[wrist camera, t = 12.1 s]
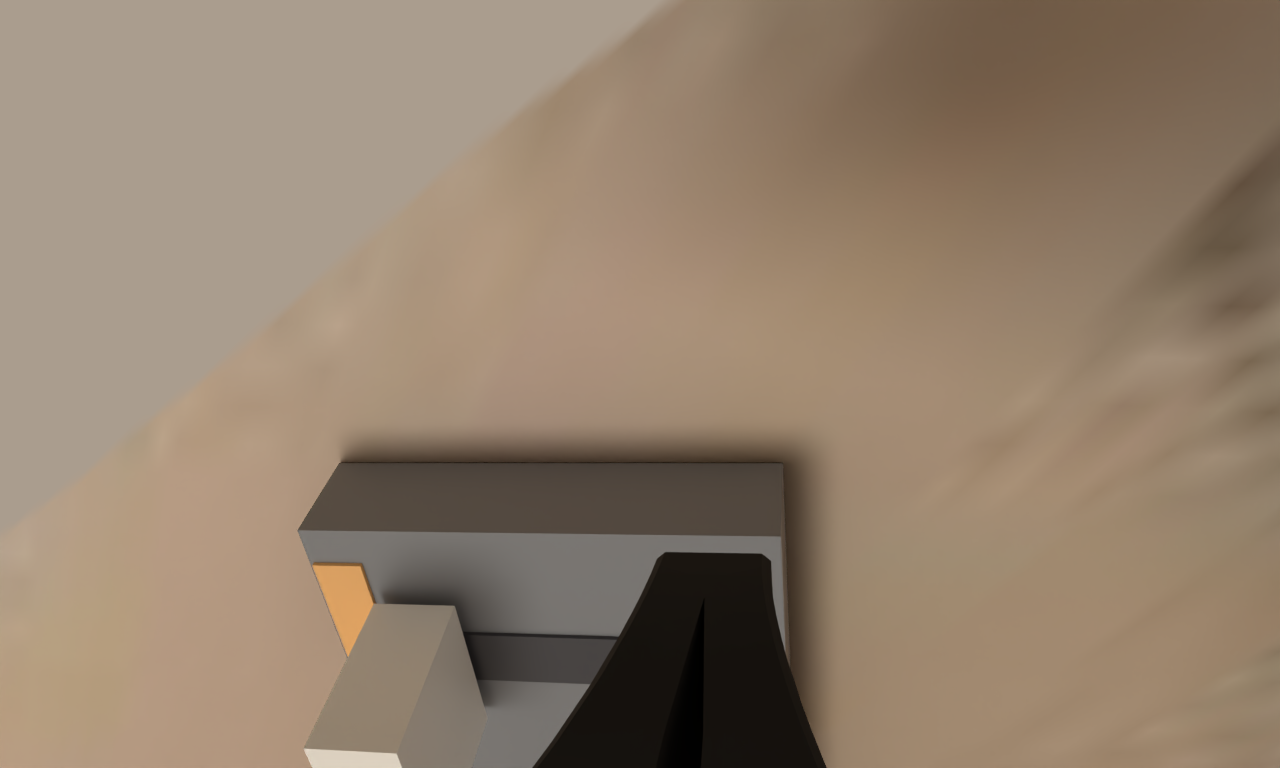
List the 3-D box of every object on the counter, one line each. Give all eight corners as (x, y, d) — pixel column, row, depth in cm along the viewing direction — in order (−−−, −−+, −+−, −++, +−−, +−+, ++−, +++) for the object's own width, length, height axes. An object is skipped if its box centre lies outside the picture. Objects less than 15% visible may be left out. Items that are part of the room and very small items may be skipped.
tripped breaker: (454, 605, 23) (396, 753, 20) (487, 717, 25) (439, 868, 22) (373, 603, 23) (303, 748, 20) (413, 714, 26) (355, 861, 22)
